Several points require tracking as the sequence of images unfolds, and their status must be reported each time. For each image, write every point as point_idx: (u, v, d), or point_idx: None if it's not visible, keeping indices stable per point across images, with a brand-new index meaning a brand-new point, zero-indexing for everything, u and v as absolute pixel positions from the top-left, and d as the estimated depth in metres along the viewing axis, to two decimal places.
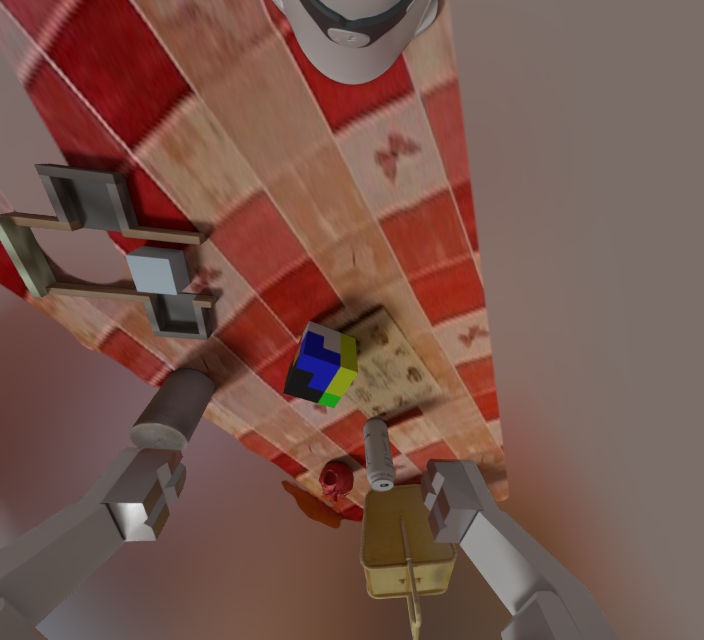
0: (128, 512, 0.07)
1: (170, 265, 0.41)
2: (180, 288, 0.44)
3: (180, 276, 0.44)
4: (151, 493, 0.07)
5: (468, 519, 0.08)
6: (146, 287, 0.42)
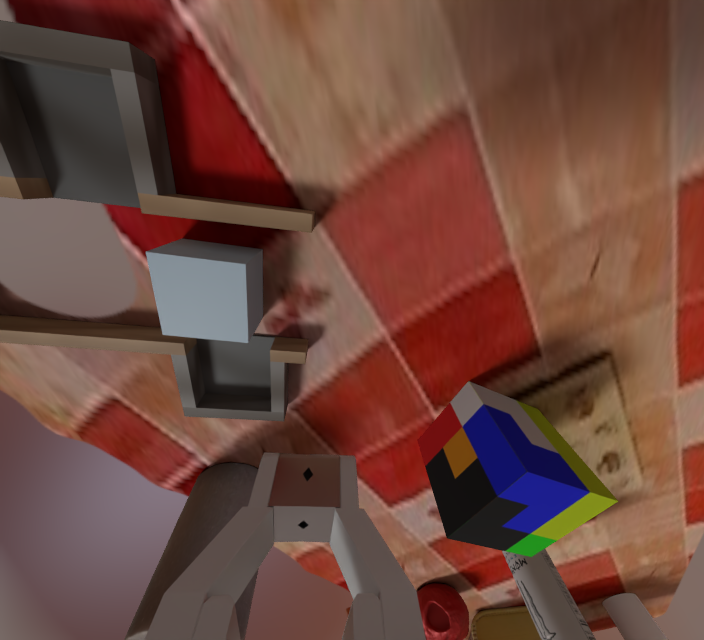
0: (288, 515, 0.07)
1: (246, 279, 0.18)
2: (253, 328, 0.21)
3: (255, 303, 0.21)
4: (305, 497, 0.07)
5: (329, 517, 0.07)
6: (184, 326, 0.19)
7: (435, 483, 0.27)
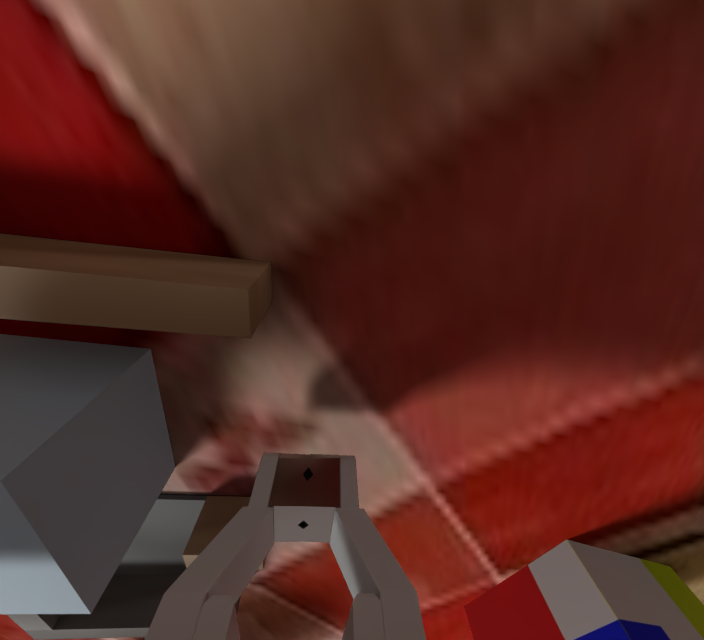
0: (288, 515, 0.07)
1: (25, 511, 0.05)
2: (119, 548, 0.08)
3: (122, 491, 0.08)
4: (306, 496, 0.07)
5: (329, 517, 0.07)
6: None
7: None
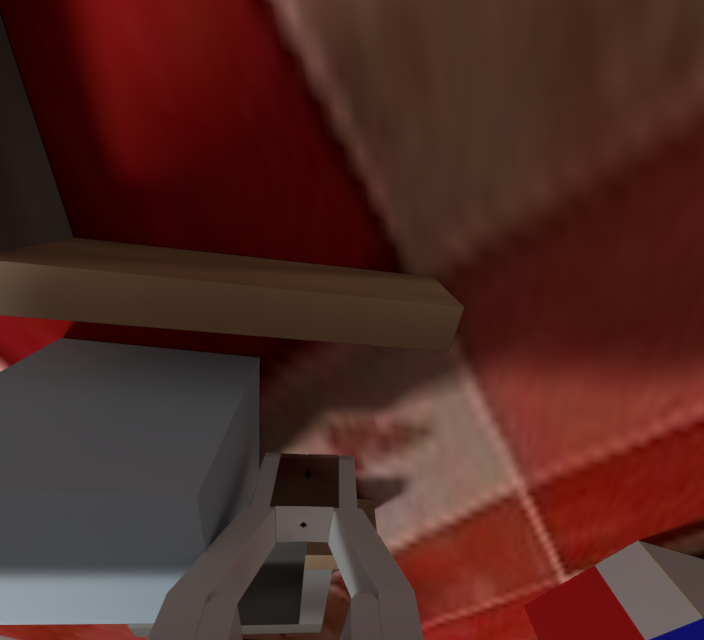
0: (290, 515, 0.07)
1: (203, 525, 0.05)
2: None
3: (238, 501, 0.08)
4: (307, 496, 0.07)
5: (327, 517, 0.07)
6: (32, 611, 0.07)
7: None
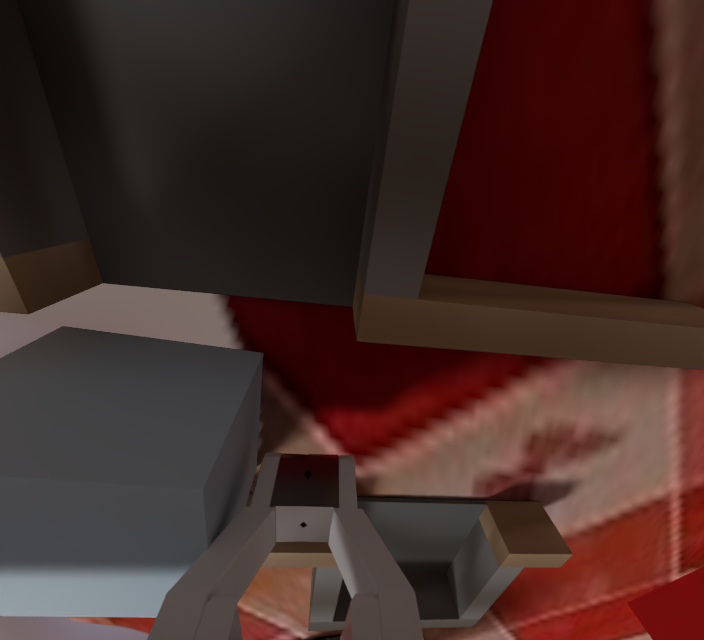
0: (290, 515, 0.07)
1: (206, 518, 0.05)
2: None
3: (237, 497, 0.08)
4: (307, 496, 0.07)
5: (327, 517, 0.07)
6: (25, 602, 0.07)
7: None
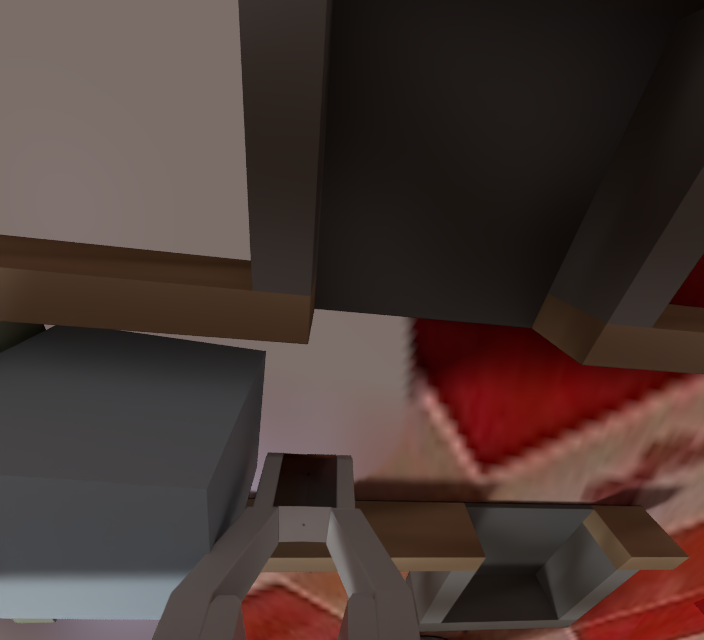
0: (293, 515, 0.07)
1: (209, 518, 0.05)
2: None
3: (238, 496, 0.08)
4: (310, 496, 0.07)
5: (325, 517, 0.07)
6: (20, 604, 0.06)
7: None
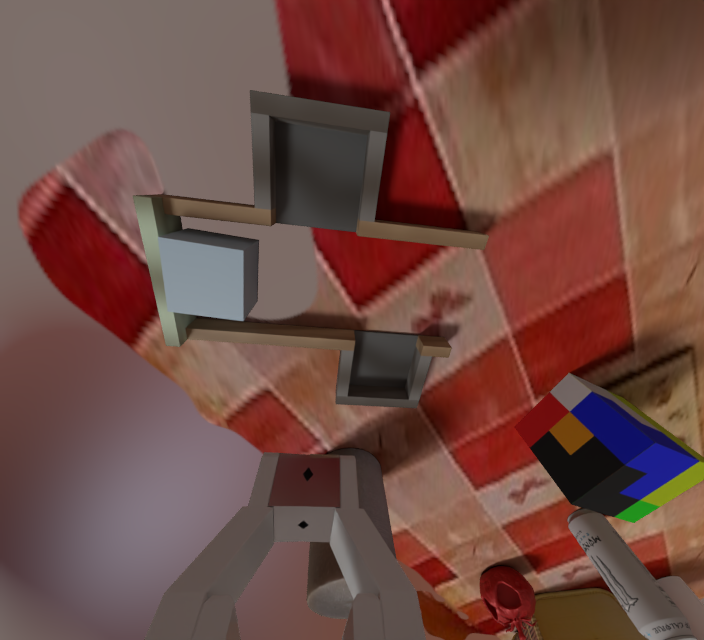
0: (288, 515, 0.07)
1: (243, 264, 0.21)
2: (248, 309, 0.24)
3: (250, 287, 0.23)
4: (305, 497, 0.07)
5: (329, 517, 0.07)
6: (187, 304, 0.22)
7: (546, 461, 0.31)
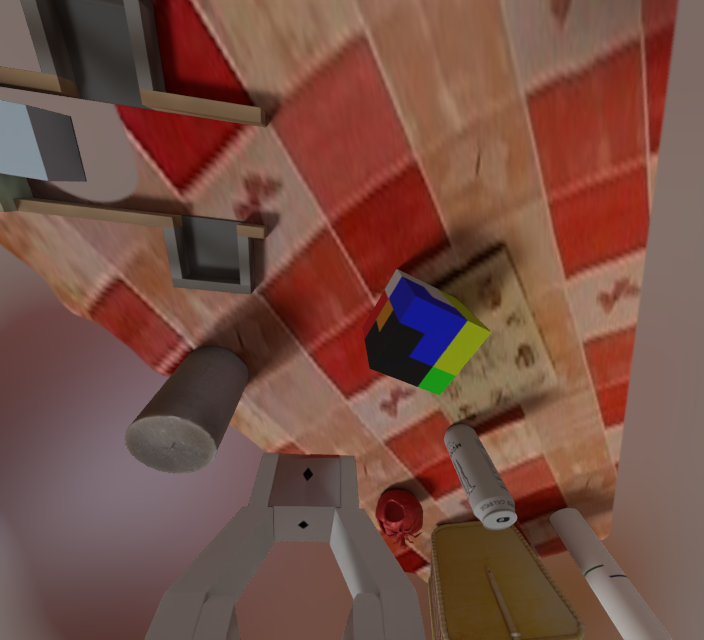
0: (288, 515, 0.07)
1: (30, 119, 0.24)
2: (58, 174, 0.27)
3: (59, 155, 0.27)
4: (306, 497, 0.07)
5: (329, 517, 0.07)
6: None
7: (368, 343, 0.35)
